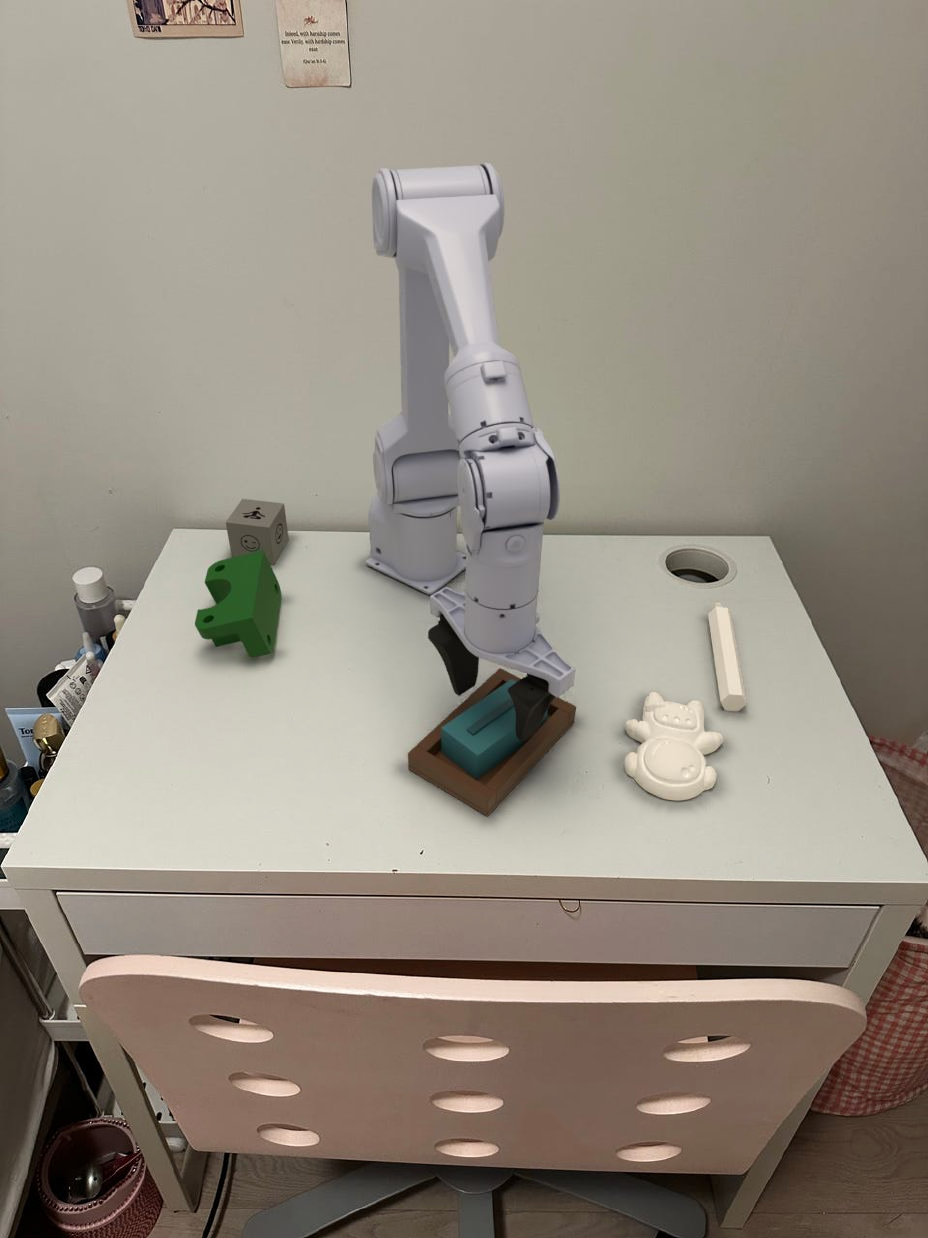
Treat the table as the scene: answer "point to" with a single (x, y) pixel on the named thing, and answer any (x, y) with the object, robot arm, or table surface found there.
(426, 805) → the table surface
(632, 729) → the cream flat figure
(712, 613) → the marker
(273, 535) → the dice cube
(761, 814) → the table surface
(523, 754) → the frame
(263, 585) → the clamp
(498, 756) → the teal rectangular block
